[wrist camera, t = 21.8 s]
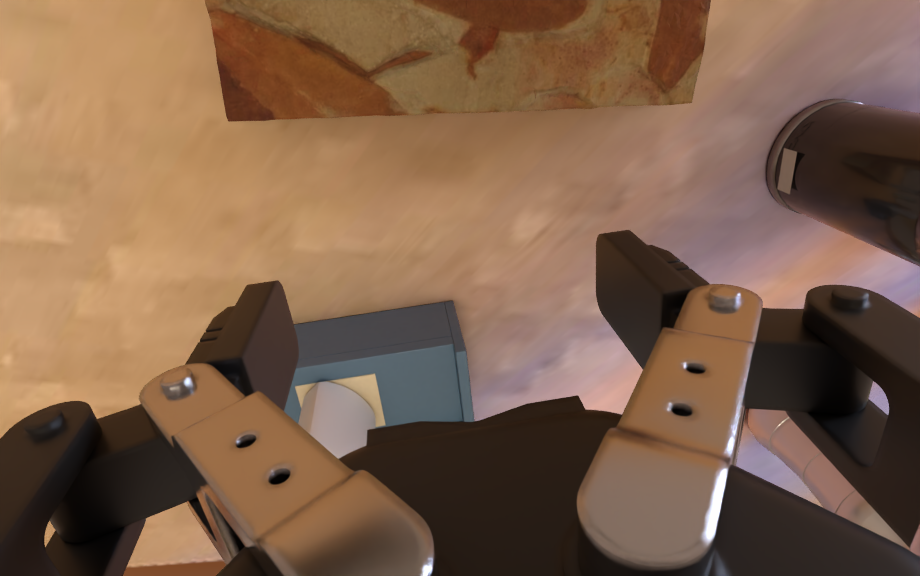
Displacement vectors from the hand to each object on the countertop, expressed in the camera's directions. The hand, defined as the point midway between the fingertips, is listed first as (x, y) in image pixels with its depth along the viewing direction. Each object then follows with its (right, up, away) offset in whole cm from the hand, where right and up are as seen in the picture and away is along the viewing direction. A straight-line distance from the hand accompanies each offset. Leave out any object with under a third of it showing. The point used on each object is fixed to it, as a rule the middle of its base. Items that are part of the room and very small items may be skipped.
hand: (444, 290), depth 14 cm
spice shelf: (-9, -10, +36) cm, 39 cm away
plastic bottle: (+33, -12, +44) cm, 56 cm away
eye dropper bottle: (-9, -9, +28) cm, 31 cm away
